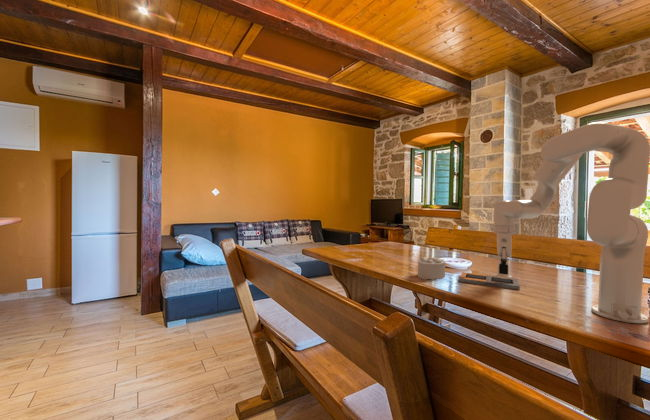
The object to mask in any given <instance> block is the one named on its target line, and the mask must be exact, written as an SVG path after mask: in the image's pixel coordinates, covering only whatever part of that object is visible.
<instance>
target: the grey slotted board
mask: <svg viewBox="0 0 650 420" xmlns="http://www.w3.org/2000/svg"><path fill="white" fill-rule="evenodd" d="M459 283H465V284H472V285H473V284H474V285H478V286H479V285H480V286H487V287H488V286H489V287H494V288H503V289H510V290H515V291H516V290H518V291H520V290H521V287H520V285H521V284H520V281H519V279H518V278H514V277H513V278H511V279H501V278H497V277H495V275H487V274H485V273H475V272H468V271H467V272H464V271H463V272H461V274H460V277H459Z"/></svg>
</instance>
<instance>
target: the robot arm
mask: <svg viewBox="0 0 650 420" xmlns="http://www.w3.org/2000/svg"><path fill="white" fill-rule="evenodd" d="M592 151H593V152H595V151H596V152H603V153H609V154H611V155H612V158H611V160H610V162H609V168H608V176H607V178H605V179H603V180H600V181H599V182H597V183H596V184H595V185H593V187H592V189H591V191H590V194H589V197H588V198H589V200H588V207H587V208H588V210H587V221H586V230H587V231H586V232H587V234H588V237H589V238H590V240H591V241H592V242H594V243H595V244H597V245H599V246H602V247H601V250H600V259H599V275H598V276H599V278H598V298H597V300H598V303H597V304H594V305H592V306H591V312H593V313H595V314H596V315H598V316H601V317H603V318H607V319H610V320H614V321H618V322H621V323H622V322H623V323H630V324H646V323H648V322H649V316H647V315H646V314H643V313H642V301H643V300H642V298H643V282H644V281H643V278H644V265H645V264H644V261H645V251H646V247H647V242H648V238H649V231H648V226H647V225H646V223H645V221H644V220H642V219H641V218H639V217H637V216H635V215H632V214H631V210H635V209H637V208H640V207H641V206H643V204H645V202H646V200H647V195H648V182H649V167H650V141H649V139H648V138H647V137H646V135H645V134H643V133H642V132H640V131H639V130H636V129H634V128H630V127H626V126H623V125H618V124H614V123H613V124H612V123H608V122H603V121H602V122H601V121H599V122H597V121H596V122H591V123H588V124H587V123H586V124H585V125H582V126H580V127H577V128H573V129H571V130H569V131H565V132H563V133H560V134H558V135H555V136H553V137H551V138H549V139H547V140H546V141H545V142H544V143H543V145H542V147H541V150H540V156H541V157H542V158H543V159H544V160H543V162H541V164H540V165H539V166H538V168H537V169H536V170H535V172H534V175H533V176H534V179H536V181H537V188H536V190H535V192H534V193H533V194H532V196H531V197H530V198H529V199H515V200H497V201H494V205H493V233H494V234H496V250H497V255H498V258H500V264H499V273H500V274H508V265H507V264H508V259H510V258H512V257H513V254H512V252H513V251H512V249H513V247H512V246H513V245H512V244H513V241H512V239H513V238H512V237H513V236H512V235H515V226H516V225H515V223H516V222H515V219H516V220H522V219H526V220H527V219H536V218H538V217H540V216H541V215H543V213H544V212H545V211H546V210H547V209H548V208H549V207H550V205H552V203H553V201H554V200H555V197H556V194H557V192H558V186H559V184H560V183H561V182H562V181H563V179H564V178H565V177H566V175H568V173H569V172H570V171H571V170H572V168H573V167H574V166H575V165H576V163H578V161H579V160H580V158H582V156H583V154H584V153H585V154H586V153H589V152H592ZM508 257H509V258H508ZM501 258H502V259H501Z"/></svg>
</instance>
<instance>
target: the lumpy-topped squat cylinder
mask: <svg viewBox="0 0 650 420" xmlns="http://www.w3.org/2000/svg"><path fill="white" fill-rule="evenodd" d="M419 277H420V278H419ZM444 277H446V261H445V260H442V258H439V257H433V256H429V257H428V258H427V257H425V256H422V257H421V258H420V259H418V261H417V278H419V279H421V278H422V279H421V280H425V279H432V280H431V281H434V280H433V279H439V280H442V279H445V278H444Z"/></svg>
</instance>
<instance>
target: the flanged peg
mask: <svg viewBox="0 0 650 420" xmlns="http://www.w3.org/2000/svg"><path fill="white" fill-rule="evenodd" d="M501 259H502V258H501ZM510 260H511V259H510V258H508V264H507V265H508V274H500V273H499V264H500V257H497V270H496V271H497V273H495V274H494V276H495V277H497V278H501V279H511V278H512V275H510V265H511V264H510Z"/></svg>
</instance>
